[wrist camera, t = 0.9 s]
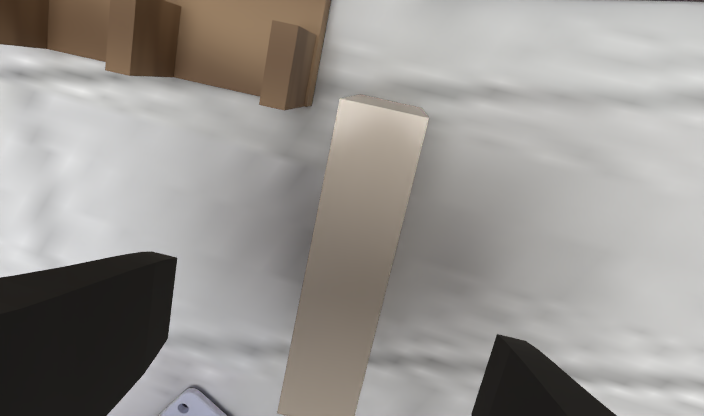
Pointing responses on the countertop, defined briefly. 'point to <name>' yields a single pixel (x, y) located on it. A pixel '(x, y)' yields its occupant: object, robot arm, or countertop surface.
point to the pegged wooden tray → (185, 40)
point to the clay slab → (351, 253)
